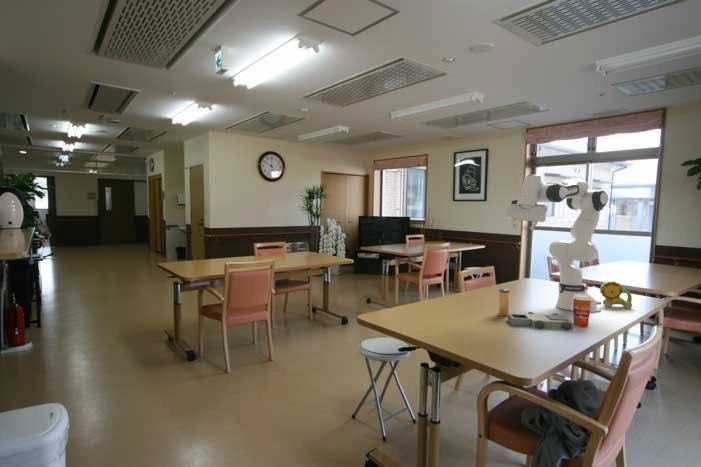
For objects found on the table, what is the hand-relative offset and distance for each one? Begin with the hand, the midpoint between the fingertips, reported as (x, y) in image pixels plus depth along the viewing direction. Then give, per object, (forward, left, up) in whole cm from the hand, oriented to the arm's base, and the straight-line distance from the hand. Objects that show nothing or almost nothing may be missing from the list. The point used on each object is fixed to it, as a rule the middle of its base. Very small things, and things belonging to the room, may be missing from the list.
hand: (522, 228), depth 207 cm
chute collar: (+4, +17, -47) cm, 50 cm away
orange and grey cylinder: (+9, +3, -47) cm, 48 cm away
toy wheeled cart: (-9, +17, -47) cm, 51 cm away
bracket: (-51, -39, -47) cm, 80 cm away
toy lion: (-61, -29, -47) cm, 83 cm away
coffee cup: (-25, +15, -47) cm, 56 cm away
